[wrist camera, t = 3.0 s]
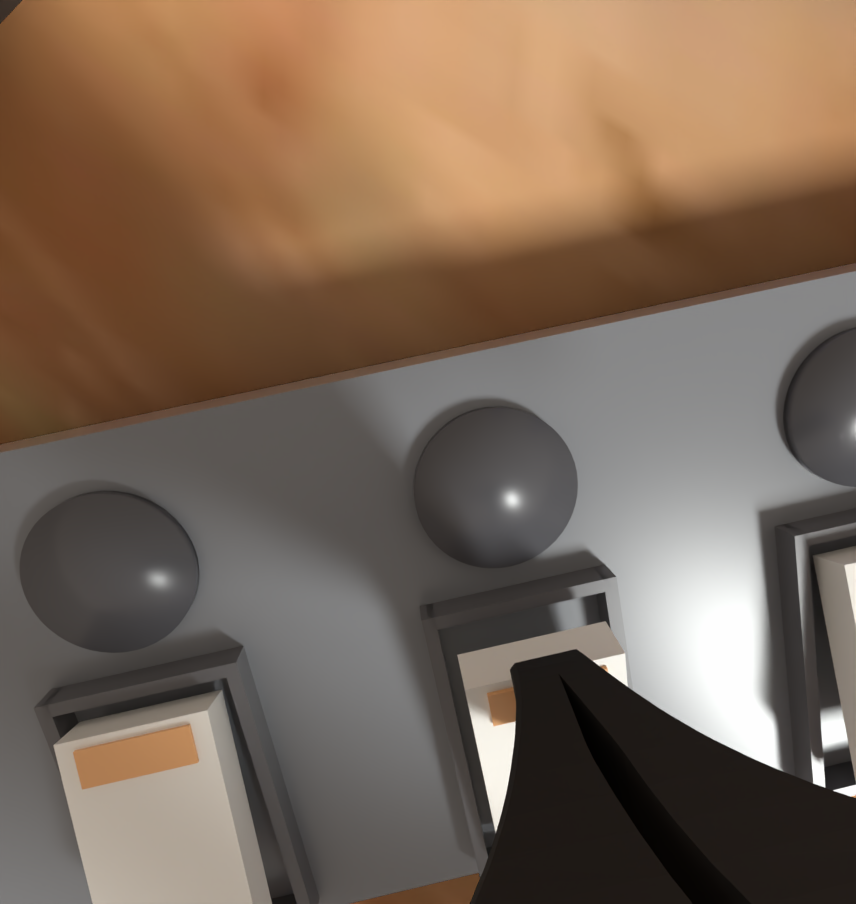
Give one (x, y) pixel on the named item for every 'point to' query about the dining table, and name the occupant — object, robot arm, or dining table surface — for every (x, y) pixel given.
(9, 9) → the usb drive
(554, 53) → the dining table surface
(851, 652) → the rocker
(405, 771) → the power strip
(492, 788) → the rocker middle
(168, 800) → the rocker
